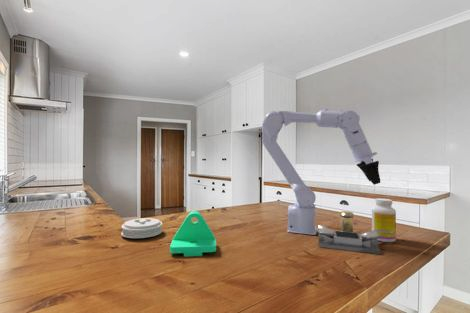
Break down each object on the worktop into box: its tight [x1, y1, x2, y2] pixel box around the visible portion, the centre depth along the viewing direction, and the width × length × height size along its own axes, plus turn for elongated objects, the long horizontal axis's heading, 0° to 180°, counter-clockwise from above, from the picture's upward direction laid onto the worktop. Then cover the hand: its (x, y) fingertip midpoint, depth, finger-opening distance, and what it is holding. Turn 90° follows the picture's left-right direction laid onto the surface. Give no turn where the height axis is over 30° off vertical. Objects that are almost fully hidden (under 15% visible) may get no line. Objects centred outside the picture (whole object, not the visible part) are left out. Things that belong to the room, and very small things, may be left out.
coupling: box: [340, 210, 355, 232], centre depth 88 cm, size 4×4×7 cm
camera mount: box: [169, 210, 217, 257], centre depth 69 cm, size 12×8×10 cm, turn 97°
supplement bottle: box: [371, 198, 397, 243], centre depth 81 cm, size 7×7×13 cm
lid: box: [120, 217, 163, 239], centre depth 84 cm, size 13×13×5 cm
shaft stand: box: [316, 224, 382, 255], centre depth 76 cm, size 17×10×5 cm, turn 70°
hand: (374, 181), depth 85 cm, fingers open, 7 cm apart
